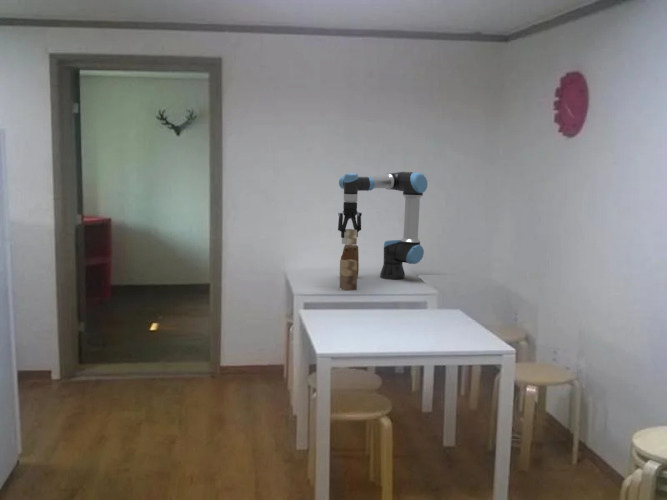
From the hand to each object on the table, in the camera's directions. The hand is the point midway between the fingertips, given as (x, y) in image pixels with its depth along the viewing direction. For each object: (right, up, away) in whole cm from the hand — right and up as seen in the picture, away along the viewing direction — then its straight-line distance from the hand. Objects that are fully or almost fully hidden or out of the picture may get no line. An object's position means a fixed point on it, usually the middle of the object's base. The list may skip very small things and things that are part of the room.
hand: (349, 243), depth 400 cm
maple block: (0, 0, 0) cm, 0 cm away
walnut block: (0, -25, +3) cm, 26 cm away
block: (+1, -21, +40) cm, 45 cm away
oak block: (-1, -17, +2) cm, 18 cm away
